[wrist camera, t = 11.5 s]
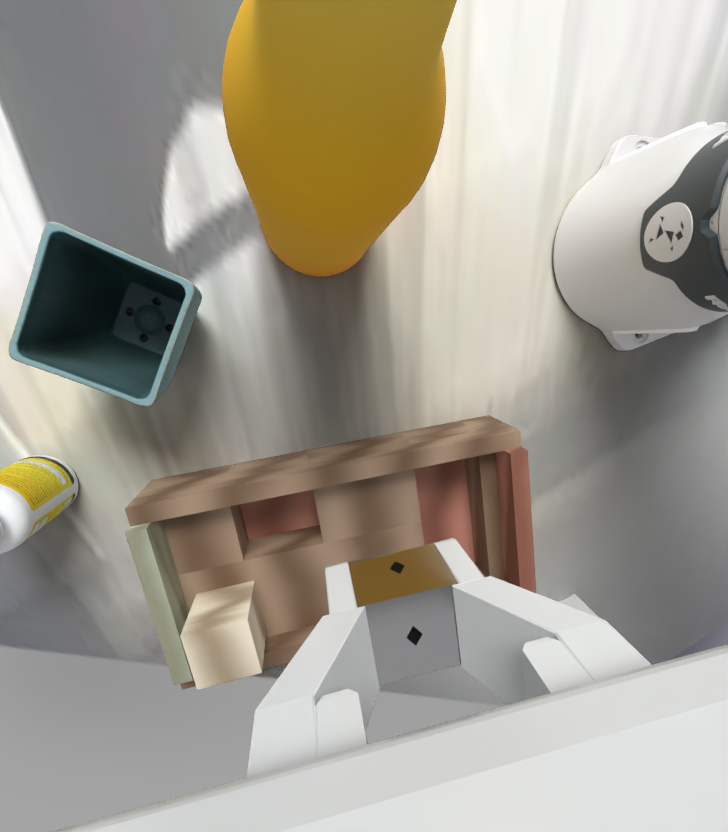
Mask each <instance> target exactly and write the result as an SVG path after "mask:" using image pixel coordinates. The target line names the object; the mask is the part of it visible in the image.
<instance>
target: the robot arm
mask: <svg viewBox="0 0 728 832" xmlns="http://www.w3.org/2000/svg"><path fill="white" fill-rule="evenodd" d="M727 126H728V124H727V123H726V122H719V123H714V124H711V125H709V126H708V125H707V123H706V122H700V123H696V124H693V125H691V126H688V127H686V128H684V129H682V130H679V131H677V132H675V133H673V134H670V135H668V136H666V137H664V138H661V139H658V138H651V137H643V136H636V135H629V136H626V137H623V138H621V139H619V140H617V141H616V142H615V143H614V144H613V145H612V146H611V148H610V150H609V151H608V153H607V155H606V157H605V159H604V161H603V163H602V165H601V167H600V169H599V171H598V172H597V173H596V174H595V175H594V176H593V177H592V178H591V179H590V180H589V181H588V182H587V183H586V184H585V185H584V186H583V187H582V188H581V189H580V190H579V191H578V192H577V193H576V195H575V196H574V197H573V198H572V200H571V201H570V203H569V204H568V206H567V208H566V210H565V212H564V214H563V216H562V218H561V221H560V223H559V226H558V229H557V233H556V238H555V243H554V270H555V276H556V280H557V284H558V286H559V289H560V291H561V294H562V296H563V298H564V299H565V301H566V302H567V304H568V305H569V307H570V308H571V309H572V310H573V311H574V312H575V313H576V314H577V315H578V316H579V317H581V318H582V319H583V320H585V321H587V322H588V323H590V324H592V325H594V326H596V327H597V328H599V329H600V330H601V331H602V332H603V334H604V335H605V337H606V338H607V340H608V341H609V343H610V344H611V345H612V346H613V347H614V348H615V349H616V350H619V351H626V350H632V349H635V348H637V347H640V346H643V345H645V344H648V343H650V342H653V341H655V340H658V339H660V338H663V337H665V336H668V335H670V334H673V333H678V332H692V331H697V330H698V328H699V327H700V326H701V325H705V324H708V323H710V322H713V321H715V320H717V319H719V318H721V317H723V316H725V315H727V314H728V128H727ZM635 334H637V336H635ZM348 564H349V566H348ZM349 570H350V571H349ZM325 576H326V586H327V596H328V606H329V615H325V616H323V617H322V618H321V619H320V621H319V622H318V623H317V625H316V626H315V628H314V629H313V630H312V632H311V633H310V635H309V636H308V637H307V639H306V640H305V642H304V643H303V644H302V646H301V647H300V649H299V650H298V651H297V653H296V654H295V656H294V657H293V658H292V660H291V661H290V663H289V664H288V665H287V667H286V668H285V670H284V671H283V672H282V674H281V675H280V677H279V678H278V679H277V681H276V682H275V684H274V685H273V686H272V688H271V689H270V691H269V692H268V693H267V695H266V696H265V697H264V699H263V700H262V702H261V703H260V704H259V706H258V707H257V709H256V710H255V716H254V724H253V732H252V740H251V748H250V756H249V765H248V773H247V778H243V779H240V780H237V781H232V782H229V783H225V784H222V785H218V786H214V787H211V788H208V789H204V790H200V791H197V792H193V793H189V794H186V795H182V796H178V797H175V798H171V799H168V800H164V801H160V802H157V803H153V804H149V805H146V806H143V807H139V808H135V809H132V810H128V811H124V812H121V813H117V814H113V815H110V816H107V817H103V818H99V819H95V820H92V821H89V822H85V823H81V824H77V825H74V826H70V827H66V828H63V829H59V830H56V831H52V832H728V644H726V645H722V646H719V647H715V648H712V649H708V650H705V651H701V652H697V653H694V654H690V655H686V656H683V657H679V658H675V659H672V660H668V661H665V662H661V663H657V664H654V665H651V664H650V663H649V662H648V661H647V660H646V659H645V658H644V657H643V656H642V655H641V654H640V653H639V652H638V651H637V650H636V649H635V648H634V647H633V646H632V645H631V644H630V643H629V642H627V641H626V640H625V639H624V638H623V637H622V636H621V635H620V634H619V633H618V632H617V631H616V630H615V629H614V628H613V627H612V626H611V625H610V624H609V623H608V622H607V621H606V620H603V619H601V618H598V617H596V616H593V615H590V614H588V613H585V612H583V611H580V610H577V609H575V608H572V607H570V606H567V605H565V604H562V603H559V602H557V601H554V600H552V599H549V598H546V597H544V596H541V595H539V594H536V593H533V592H531V591H528V590H526V589H523V588H521V587H518V586H515V585H513V584H510V583H508V582H505V581H502V580H500V579H497V578H495V577H492V576H489V577H484V576H483V575H482V573H481V572H480V571H479V569H478V568H477V567H476V565H475V564H474V563H473V561H472V560H471V559H470V557H469V556H468V555H467V553H466V552H465V551H464V549H463V548H462V547H461V545H460V544H459V543H458V541H457V540H456V539H454V538H450V539H446V540H442V541H439V542H435V543H432V544H428V545H424V546H420V547H416V548H412V549H408V550H404V551H400V552H396V553H392V554H391V553H389V554H384V555H379V556H374V557H369V558H364V559H359V560H354V561H349V562H348V563H347V562H344V563H339V564H335V565H331V566H327V567H325ZM459 665H461V667H462V668H463V669H465V670H466V671H467V672H468V673H470V674H471V675H472V676H474V677H475V678H476V679H477V680H479V681H480V682H481V683H483V684H484V685H485V686H487V687H488V688H489V689H490V690H492V691H493V692H494V693H496V694H497V695H498V696H499V697H501V698H502V699H503V700H505V701H506V702H507V703H508V704H509V705H506V706H502V707H499V708H495V709H492V710H488V711H484V712H481V713H477V714H474V715H470V716H467V717H463V718H459V719H456V720H453V721H449V722H445V723H442V724H438V725H435V726H431V727H427V728H424V729H420V730H417V731H413V732H409V733H406V734H402V735H398V736H395V737H391V738H388V739H384V740H380V741H377V742H373V743H370V744H368V743H367V737H366V732H365V731H366V728H367V725H368V722H369V719H370V716H371V713H372V710H373V708H374V704H375V702H376V698H377V696H378V693H379V690H380V688H379V686H383V685H386V684H389V683H393V682H396V681H400V680H403V679H406V678H410V677H413V676H416V675H420V674H424V673H429V672H433V671H437V670H442V669H446V668H450V667H455V666H459Z"/></svg>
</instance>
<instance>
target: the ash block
mask: <svg viewBox="0 0 728 832" xmlns="http://www.w3.org/2000/svg"><path fill="white" fill-rule="evenodd" d="M266 631H267V627H266V623H265V619H264V615H263V611H262V607H261V604H260V600H259V596H258V592H257V588H256V584H255V581H250V582H245V583H241V584H237V585H233V586H228V587H224V588H220V589H216V590H211V591H207V592H203V593H199V594H196V596H195V599H194V602H193V604H192V607H191V609H190V612H189V614H188V617H187V620H186V622H185V625H184V627H183V630H182V633H181V635H180V637H181V641H182V644H183V647H184V650H185V653H186V656H187V659H188V662H189V665H190V668H191V672H192V675H193V678H194V681H195V684H196V687H197V690H198V689H202V688H206V687H209V686H214V685H218V684H222V683H225V682H229V681H233V680H237V679H241V678H244V677H248V676H252V675H256V674H260V673H262V668H263V659H264V650H265V641H266Z"/></svg>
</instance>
